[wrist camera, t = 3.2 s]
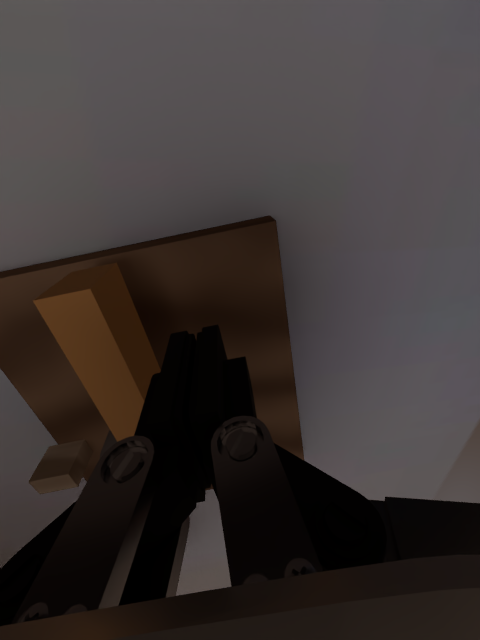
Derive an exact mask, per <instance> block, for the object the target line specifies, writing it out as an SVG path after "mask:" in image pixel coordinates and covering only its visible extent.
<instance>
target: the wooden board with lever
mask: <svg viewBox="0 0 480 640" xmlns="http://www.w3.org/2000/svg"><path fill="white" fill-rule="evenodd" d="M112 263H117V265H118V267H119V270H120V272H121V274H122V277H123V279H124V282H125V284H126V287H127V289H128V291H129V294H130V296H131V299H132V301H133V304H134V306H135V309H136V311H137V313H138V316H139V318H140V321H141V323H142V326H143V328H144V330H145V333H146V335H147V338H148V340H149V343H150V345H151V347H152V350H153V352H154V355H155V357H156V360H157V362H158V365H159V367H160V369H161V368H162V364H163V360H164V357H165V353H166V349H167V346H168V342H169V338H170V335H171V334H172V333H177V332H182V331H188V333H189V334H192V333H193V334H194V335H195V338H196V339H197V333H198V332H202V328H203V327H207V326H212V325H217V324H218V326H219V329H220V332H221V336H222V340H223V344H224V348H225V352H226V356H227V359H233V358H239V357H244V356H245V357H246V361H247V366H248V370H249V375H250V380H251V385H252V390H253V396H254V403H255V409H256V415H257V419H259V420H260V421H262V422H263V423H264V424H265V425H266V427H267V428H268V430H269V432H270V435H271V437H272V440H273V443H275V444H277V445H278V446H280V447H282V448H284V449H285V450H287V451H289V452H290V453H292V454H294V455H295V456H297V457H299V458H301V459H302V460H304V455H303V446H302V438H301V429H300V421H299V412H298V404H297V396H296V387H295V379H294V370H293V362H292V353H291V345H290V336H289V328H288V319H287V311H286V302H285V294H284V285H283V277H282V268H281V260H280V251H279V243H278V235H277V226H276V220H274V219H273V218H272V217H271V216H265V217H261V218H256V219H251V220H246V221H242V222H237V223H232V224H227V225H222V226H218V227H213V228H208V229H203V230H199V231H194V232H189V233H184V234H179V235H175V236H170V237H165V238H160V239H156V240H151V241H146V242H141V243H137V244H132V245H127V246H122V247H117V248H113V249H108V250H103V251H98V252H94V253H89V254H84V255H79V256H74V257H70V258H65V259H60V260H55V261H51V262H46V263H41V264H36V265H31V266H27V267H22V268H17V269H12V270H8V271H3V272H0V368H1V370H2V371H3V372H4V374H5V375H6V376H7V377H8V379H9V380H10V381H11V383H12V384H13V385H14V387H15V388H16V389H17V391H18V392H19V393H20V395H21V396H22V397H23V399H24V400H25V401H26V402H27V404H28V405H29V406H30V408H31V409H32V410H33V412H34V413H35V414H36V416H37V417H38V418H39V420H40V421H41V422H42V424H43V425H44V426H45V427H46V429H47V430H48V431H49V433H50V434H51V435H52V437H53V438H54V439H55V441H56V442H57V443H58V445H54V446H49V448H48V449H47V451H46V453H45V455H44V456H43V458H42V460H41V461H40V463H39V465H38V466H37V468H36V470H35V472H34V473H33V475H32V477H31V478H30V480H29V483H30V484H31V485H32V486H33V487H34V489H35V490H36V491H37V492H38V493H39V494H44V493H49V492H54V491H59V490H64V489H69V488H74V487H78V486H79V484H80V481H81V479H82V476H83V477H84V479H85V480H86V481H88V479H89V477H90V476H91V474H92V472H93V470H94V468H95V466H96V464H97V463H98V461H99V460H100V453H101V450H102V448H103V445H104V442H105V440H106V437H107V435H108V432H109V430H110V429H109V427H108V425H107V424H106V422H105V420H104V419H103V417H102V415H101V414H100V412H99V410H98V409H97V407H96V405H95V404H94V402H93V400H92V399H91V397H90V395H89V394H88V392H87V390H86V389H85V387H84V385H83V384H82V382H81V380H80V379H79V377H78V375H77V374H76V372H75V370H74V369H73V367H72V365H71V364H70V362H69V360H68V359H67V357H66V355H65V354H64V352H63V350H62V349H61V347H60V345H59V344H58V342H57V340H56V339H55V337H54V335H53V334H52V332H51V330H50V329H49V327H48V325H47V324H46V322H45V320H44V319H43V317H42V315H41V314H40V312H39V310H38V309H37V307H36V305H35V304H34V302H33V300H34V299H36V298H37V297H38V296H40V295H41V294H42V293H44V292H45V291H46V290H48V289H49V288H51V287H52V286H53V285H55V284H56V283H57V282H59V281H60V280H61V279H63V278H64V277H65V276H67V275H68V274H69V273H71V272H74V271H78V270H83V269H88V268H93V267H98V266H102V265H107V264H112ZM210 489H213V486H212V484H211V488H207V489H205V490H210Z"/></svg>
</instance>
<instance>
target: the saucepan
mask: <svg viewBox="0 0 480 640" xmlns="http://www.w3.org/2000/svg"><path fill="white" fill-rule="evenodd" d="M33 302H34V304H35V305H36V307H37V309H38V310H39V312H40V314H41V315H42V317H43V319H44V320H45V322H46V324H47V325H48V327H49V329H50V330H51V332H52V334H53V335H54V337H55V339H56V340H57V342H58V344H59V345H60V347H61V349H62V350H63V352H64V354H65V355H66V357H67V359H68V360H69V362H70V364H71V365H72V367H73V369H74V370H75V372H76V374H77V375H78V377H79V379H80V380H81V382H82V384H83V385H84V387H85V389H86V390H87V392H88V394H89V395H90V397H91V399H92V400H93V402H94V404H95V405H96V407H97V409H98V410H99V412H100V414H101V415H102V417H103V419H104V420H105V422H106V424H107V425H108V427H109V429H110V430H109V432H108V435H107V437H106V440H105V442H104V445H103V448H102V450H101V453H100V458H101V457H102V455H103V454H104V453H105V452H106V451H107V450H108V449H109V448H110V447H111V446H112V445H114V444H115V443H117V442H118V441H120V440H122V439H125V438H127V437H131V436H134V434H135V431H136V428H137V424H138V421H139V418H140V414H141V411H142V408H143V404H144V401H145V398H146V394H147V391H148V388H149V384H150V381H151V378H152V376H153V375H154V374H156V373H160V372H161V369H160V367H159V365H158V362H157V360H156V357H155V355H154V352H153V350H152V347H151V345H150V343H149V340H148V338H147V335H146V333H145V330H144V328H143V326H142V323H141V321H140V318H139V316H138V313H137V311H136V309H135V306H134V304H133V301H132V299H131V296H130V294H129V291H128V289H127V287H126V284H125V282H124V279H123V277H122V274H121V272H120V270H119V267H118V265H117V263H112V264H107V265H102V266H98V267H93V268H88V269H83V270H78V271H74V272H71V273H69V274H68V275H67V276H65V277H64V278H63V279H61V280H60V281H59V282H57V283H56V284H55V285H53V286H52V287H51V288H49V289H48V290H46V291H45V292H44V293H42V294H41V295H40V296H38V297H37V298H36V299H34V300H33Z"/></svg>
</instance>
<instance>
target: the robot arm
mask: <svg viewBox="0 0 480 640" xmlns="http://www.w3.org/2000/svg"><path fill="white" fill-rule="evenodd" d="M211 484H212V486H213V489H214V491H215V494H216V496H217V499H218V501H219V507H220V513H221V520H222V527H223V533H224V540H225V547H226V553H227V560H228V567H229V573H230V580H231V586H232V587H227V588H221V589H215V590H208V591H202V592H197V593H191V594H185V595H179V596H176V591H177V586H178V581H179V576H180V571H181V566H182V561H183V556H184V551H185V546H186V541H187V536H188V531H189V525H190V517H189V515H190V514H191V513H192V511H193V510H194V509H195V508H196V503H197V502H203V501H205V489H207V488H211ZM0 640H480V503H467V502H453V501H438V500H425V499H411V498H397V497H385V501H378V500H368V499H366V498H365V497H364V496H362V495H361V494H360V493H358V492H357V491H355V490H353V489H351V488H350V487H348V486H346V485H345V484H343V483H341V482H340V481H338V480H336V479H334V478H333V477H331V476H329V475H328V474H326V473H324V472H323V471H321V470H319V469H318V468H316V467H314V466H312V465H311V464H309V463H307V462H306V461H304V460H302V459H301V458H299V457H297V456H295V455H294V454H292V453H290V452H289V451H287V450H285V449H284V448H282V447H280V446H278V445H277V444H275V443H273V440H272V437H271V435H270V432H269V430H268V428H267V427H266V425H265V424H264V423H263V422H262V421H260V420H259V419H257V415H256V409H255V403H254V396H253V390H252V385H251V380H250V375H249V370H248V366H247V361H246V357H245V356H244V357H239V358H233V359H227V356H226V352H225V348H224V344H223V340H222V336H221V332H220V329H219V326H218V324H217V325H212V326H207V327H203V328H202V332H198V333H197V339H196V338H195V335H194V334H193V333H192V334H189V333H188V331H182V332H177V333H172V334H171V335H170V338H169V342H168V346H167V349H166V353H165V357H164V360H163V364H162V368H161V372H160V373H156V374H154V375H153V376H152V378H151V381H150V384H149V388H148V391H147V394H146V398H145V401H144V404H143V408H142V411H141V414H140V418H139V421H138V424H137V428H136V431H135V434H134V436H131V437H127V438H125V439H122V440H120V441H118V442H117V443H115V444H114V445H112V446H111V447H110V448H109V449H108V450H107V451H106V452H105V453H104V454H103V455H102V457H101V458H100V460H99V461H98V463H97V464H96V466H95V468H94V470H93V472H92V474H91V476H90V477H89V479H88V481H87V483H86V485H85V487H84V489H83V490H82V492H81V494H80V496H79V498H78V500H77V501H76V502H75V503H73V504H72V505H71V506H70V507H69V508H68V509H67V510H65V511H64V512H63V513H62V514H61V515H60V516H59V517H57V518H56V519H55V520H54V521H53V522H52V523H50V524H49V525H48V526H47V527H46V528H45V529H44V530H42V531H41V532H40V533H39V534H38V535H37V536H36V537H34V538H33V539H32V540H31V541H30V542H29V543H28V544H26V545H25V546H24V547H23V548H22V549H21V550H20V551H18V552H17V553H16V554H15V555H14V556H13V557H12V558H11V559H10V560H9V561H8V562H7V563H6V564H5V565H4V566H3V567H2V568H0Z"/></svg>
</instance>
